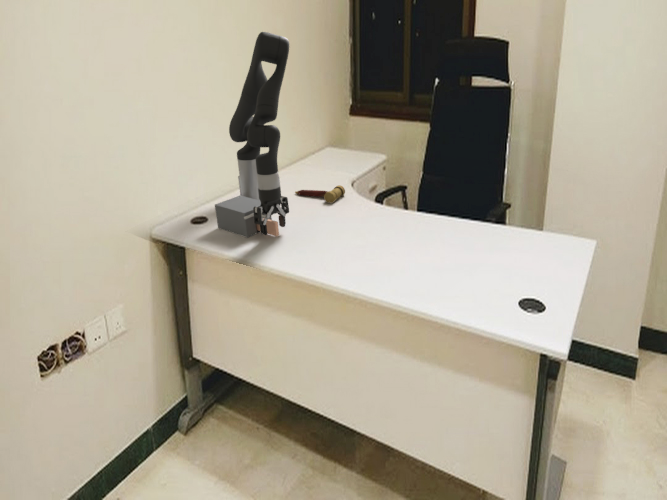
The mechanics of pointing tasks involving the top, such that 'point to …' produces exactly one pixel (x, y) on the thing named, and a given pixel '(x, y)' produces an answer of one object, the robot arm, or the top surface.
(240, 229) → the dispenser
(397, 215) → the top surface
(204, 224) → the top surface
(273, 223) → the ticket strip
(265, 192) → the robot arm
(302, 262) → the top surface
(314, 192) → the gavel
